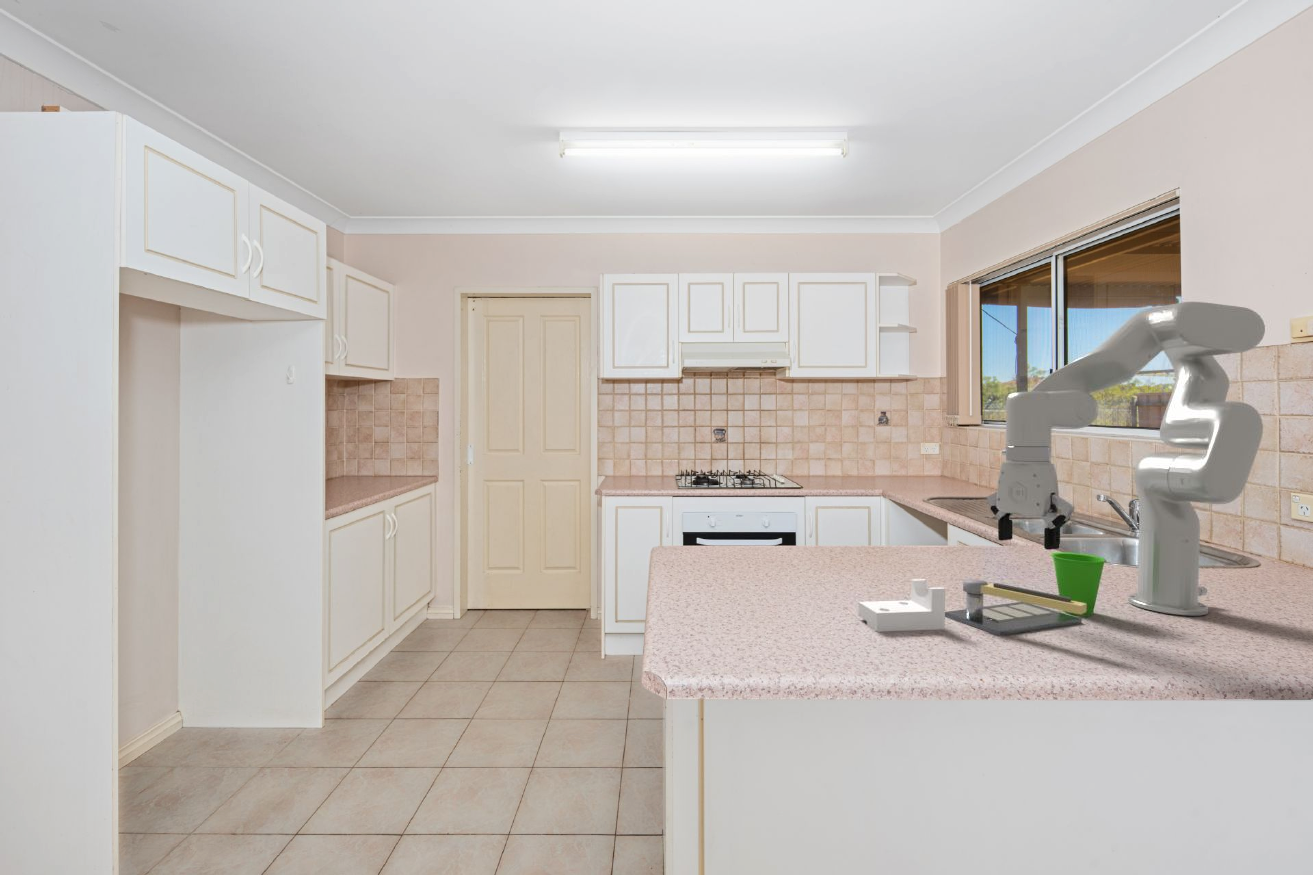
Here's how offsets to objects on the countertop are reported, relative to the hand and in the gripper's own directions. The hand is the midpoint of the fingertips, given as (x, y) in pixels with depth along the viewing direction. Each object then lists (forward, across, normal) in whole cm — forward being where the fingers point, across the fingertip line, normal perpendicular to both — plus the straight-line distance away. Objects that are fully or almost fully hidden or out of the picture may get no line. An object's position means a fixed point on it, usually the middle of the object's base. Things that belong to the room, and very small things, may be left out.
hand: (1027, 544), depth 120 cm
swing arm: (+8, +7, -11) cm, 16 cm away
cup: (+14, +2, +11) cm, 18 cm away
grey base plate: (+14, +1, -5) cm, 15 cm away
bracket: (+14, -4, -27) cm, 31 cm away
